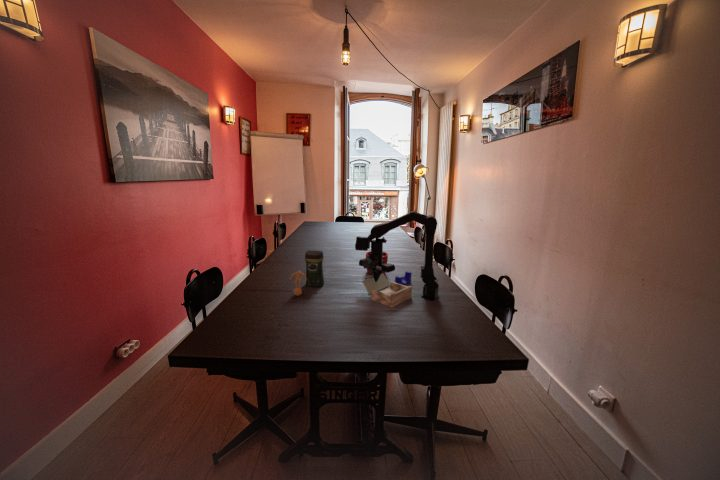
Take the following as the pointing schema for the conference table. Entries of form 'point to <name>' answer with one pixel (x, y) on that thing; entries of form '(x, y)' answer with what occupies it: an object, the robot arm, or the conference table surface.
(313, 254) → the coffee jar
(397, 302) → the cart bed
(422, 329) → the conference table surface
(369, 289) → the tailgate
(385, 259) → the plant pot
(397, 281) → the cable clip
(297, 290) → the figurine
